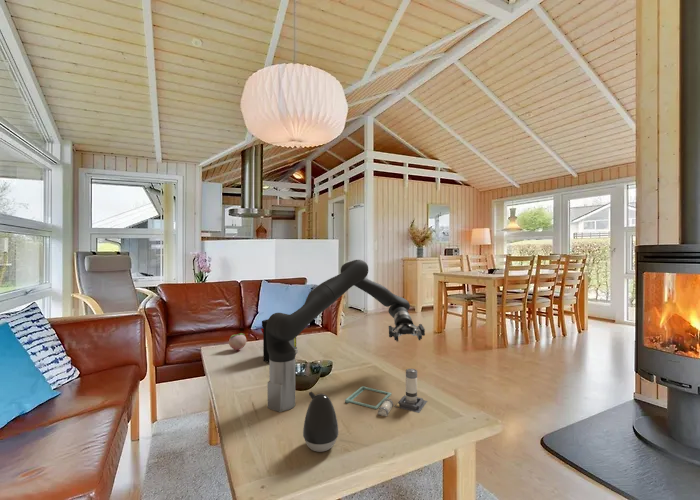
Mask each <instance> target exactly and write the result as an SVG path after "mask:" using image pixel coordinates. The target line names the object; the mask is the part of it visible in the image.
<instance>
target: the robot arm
mask: <svg viewBox="0 0 700 500" xmlns="http://www.w3.org/2000/svg"><path fill="white" fill-rule="evenodd" d="M368 273H369V265H368V264H367V262H366V261H364V260H363V259H354V260H351V261H348V262H346V263H345V262H344V264H342V265H341V267H340V274H337V275H335V276H333V277H330V278H328V279H326V280H324V281H323V282H321V283H320V284H318V285H317V286H316V287H315V288H313V289H312V290H310V292H309V293H308V294H307V297H306V299H305V301H304V303H303V305H302V306H301V307H299V308H298V309H297V310H295V311H294V312H293V313H290V314H288V313H283V312H275V313H273V314H271V315H270V316H269V318H268V321H267V325H266V340H267V350H268V353H269V362H268V363H269V364H268V365H269V367H268V369H269V375H268V378H269V381H267V384H266V386H267V409H269V410H271V411H275V412H278V413H282V412H285V411H288V410H292V409H293V408H294V407H295V406H296V354H295V350H294V348H293V347H292V346H291V344H290V343H289V341H291V340H293V339H294V338H295V337H296V338H297V337H298V336H299V335H300V334H301V333H302V332H303V331H304V330H305V328H307V327H308V326H309V324H311V322H313V321H314V319H316V318H317V317H318V316H320V315H321V313H323V312H324V311H325V310H327V309H328V308H329V307H331V306H332V305H334V303H335V302H336V301H337V300H338V299H340V298H341V297H343V295H344V294H346V292H348V291H349V290H350V289H352V287H353V286H355V288H358V289H360V290H361V291H363V292H365V293H367V294H368V295H369V296H370V297H372V298H374V299H375V300H376V301H378V302H379V303H380V304H381V305H383V306H384V307H387V308H388V310H387V311H388V313H389V316H390V317H392V318H393V320H394V325H395V327H393V326H392V325H388V337H389V338H394V341H396V342H399V337H401V336H404V335H411V336H413V337H415V336H416V338H417V339H418V341H421V340H422V339H423V337H424V336H425V335H426V333H425V332H426V329H425V327H424V326H423V323H420V324H418V325H415V324H414V322H413V319H412V317H411V314H410V313H409V310H410V308H411V305H410V302H409V301H408V300H407V299H406V298H404V297H402V296H399V295H396V294H394V293H393V292H392V291H390V290H389V289H388V288H387V287H385V286H384V285H382V284H380V283H378V282H375V281H372V280H371V279H369V278H367V276H368Z"/></svg>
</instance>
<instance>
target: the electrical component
mask: <svg viewBox="0 0 700 500" xmlns="http://www.w3.org/2000/svg"><path fill="white" fill-rule="evenodd" d="M268 319H269V318H268ZM268 319H263V320H261V327H262V328H260V330H261V333H262V336H263V337H262V338H263V342H262V343H263V346H262V348H263V353H262V354H263V362H265V363H269V353H268V350H267V340H266V325H267V321H268ZM289 343H290V344H291V346H292V347H293V348H294V350H295V355H296V354H298V353H299V349H298V347H297V337H295V338H294V339H293V340H291V341H289Z"/></svg>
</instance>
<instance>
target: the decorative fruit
mask: <svg viewBox="0 0 700 500" xmlns="http://www.w3.org/2000/svg"><path fill="white" fill-rule="evenodd" d="M228 339H229V340H228V345H229V346H230V348H231V349H233V350H235V351H240V350H242V349H243V348H244V347H245V346H246V344H247V337H246V334H245V333H242V332H240V333H239V332H238V333H237V334H231V336H230V337H229V338H228Z"/></svg>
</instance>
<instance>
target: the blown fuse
mask: <svg viewBox="0 0 700 500" xmlns="http://www.w3.org/2000/svg"><path fill="white" fill-rule="evenodd" d="M405 394H406V403H408V404H413V405H417V397H418V370H417V369H415V368H407V369H406V370H405Z"/></svg>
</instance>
